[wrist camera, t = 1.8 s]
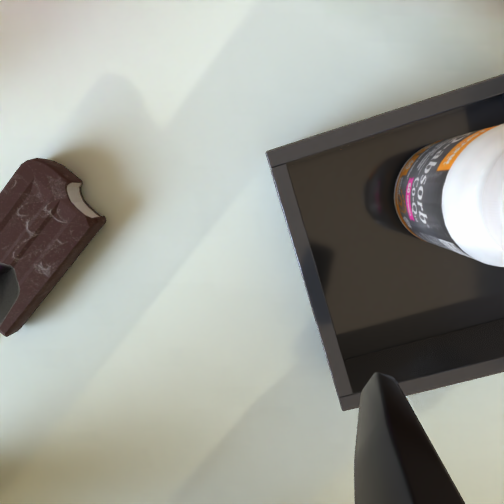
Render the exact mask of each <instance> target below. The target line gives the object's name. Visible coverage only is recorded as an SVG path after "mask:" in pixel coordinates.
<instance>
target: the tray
mask: <svg viewBox="0 0 504 504" xmlns="http://www.w3.org/2000/svg"><path fill="white" fill-rule="evenodd" d="M502 123H504V74H502V75H499V76H496V77H493V78H490V79H487V80H484V81H481V82H478V83H474V84H471V85H468V86H465V87H462V88H459V89H456V90H453V91H450V92H447V93H444V94H441V95H438V96H435V97H431V98H428V99H425V100H422V101H419V102H416V103H413V104H410V105H407V106H404V107H401V108H398V109H395V110H392V111H388V112H385V113H382V114H379V115H376V116H373V117H370V118H367V119H364V120H361V121H358V122H355V123H352V124H349V125H345V126H342V127H339V128H336V129H333V130H330V131H327V132H324V133H321V134H318V135H315V136H312V137H309V138H305V139H302V140H299V141H296V142H293V143H290V144H287V145H284V146H281V147H278V148H275V149H272V150H269V151H266V156H267V160H268V163H269V166H270V170H271V173H272V176H273V180H274V183H275V187H276V190H277V193H278V197H279V200H280V203H281V207H282V210H283V213H284V217H285V220H286V223H287V227H288V230H289V234H290V237H291V240H292V244H293V247H294V250H295V254H296V257H297V260H298V264H299V267H300V270H301V274H302V277H303V281H304V284H305V287H306V291H307V294H308V297H309V301H310V304H311V307H312V311H313V314H314V318H315V321H316V324H317V328H318V331H319V334H320V338H321V341H322V344H323V348H324V351H325V354H326V358H327V361H328V365H329V368H330V371H331V375H332V378H333V381H334V385H335V388H336V391H337V395H338V398H339V402H340V405H341V408H342V411H346V410H350V409H354V408H358V407H359V405H360V396H361V393H362V390H363V388H364V387H365V385H366V384H367V383H368V381H369V380H370V378H371V377H372V376H373V374H374V373H376V372H382V373H385V374H388V375H391V376H393V377H394V378H395V379H396V381H397V382H398V384H399V386H400V388H401V390H402V391H403V393H404V395H405V396H407V395H412V394H416V393H420V392H424V391H428V390H432V389H436V388H440V387H444V386H448V385H452V384H456V383H461V382H465V381H469V380H473V379H477V378H481V377H485V376H489V375H493V374H497V373H501V372H504V267H498V266H493V265H488V264H485V263H482V262H480V261H478V260H475V259H472V258H470V257H467V256H465V255H461V254H459V253H456V252H453V251H451V250H448V249H446V248H443V247H439V246H437V245H434V244H431V243H429V242H426V241H424V240H422V239H420V238H418V237H416V236H415V235H413V234H412V233H411V232H409V231H408V230H407V229H406V228H405V226H404V225H403V224H402V222H401V221H400V219H399V217H398V215H397V212H396V209H395V205H394V188H395V183H396V180H397V177H398V175H399V172H400V170H401V169H402V167H403V166H404V164H405V163H406V162H407V160H408V159H409V158H410V157H411V156H412V155H413V154H415V153H416V152H417V151H419V150H420V149H422V148H424V147H425V146H427V145H430V144H432V143H434V142H437V141H440V140H443V139H448V138H451V137H455V136H459V135H462V134H465V133H469V132H473V131H477V130H481V129H485V128H489V127H493V126H496V125H499V124H502Z"/></svg>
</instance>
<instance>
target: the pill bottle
mask: <svg viewBox="0 0 504 504" xmlns="http://www.w3.org/2000/svg"><path fill="white" fill-rule="evenodd" d="M394 205H395V209H396V212H397V215H398V217H399V219H400V221H401V222H402V224H403V225H404V226H405V228H406V229H407V230H408V231H409V232H411V233H412V234H413V235H415V236H416V237H418V238H420V239H422V240H424V241H426V242H429V243H431V244H434V245H437V246H439V247H443V248H446V249H448V250H451V251H453V252H456V253H459V254H461V255H465V256H467V257H470V258H472V259H475V260H478V261H480V262H482V263H485V264H488V265H493V266H498V267H504V123H502V124H499V125H496V126H493V127H489V128H485V129H481V130H477V131H473V132H469V133H465V134H462V135H459V136H455V137H451V138H448V139H443V140H440V141H437V142H434V143H432V144H430V145H427V146H425V147H424V148H422V149H420V150H419V151H417V152H416V153H415V154H413V155H412V156H411V157H410V158H409V159H408V160H407V162H406V163H405V164H404V166H403V167H402V169H401V170H400V172H399V175H398V177H397V180H396V183H395V188H394Z"/></svg>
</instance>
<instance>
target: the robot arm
mask: <svg viewBox="0 0 504 504" xmlns="http://www.w3.org/2000/svg"><path fill="white" fill-rule="evenodd" d="M19 293H20V288H19V284H18V280H17V276H16V272H15V269H14V268H13V267H12V266H11V265H8V264H4V263H1V262H0V326H1V324H2V322H3V321H4V319H5V318H6V316H7V314H8V313H9V311H10V310H11V308H12V306H13V305H14V303H15V302H16V300H17V298H18V296H19ZM354 490H355V504H465V502H464V500H463V499H462V497H461V495H460V493H459V491H458V490H457V488H456V486H455V484H454V482H453V481H452V479H451V477H450V475H449V474H448V472H447V470H446V468H445V466H444V465H443V463H442V461H441V459H440V457H439V456H438V454H437V452H436V450H435V449H434V447H433V445H432V443H431V441H430V440H429V438H428V436H427V434H426V432H425V431H424V429H423V427H422V425H421V423H420V422H419V420H418V418H417V416H416V415H415V413H414V411H413V409H412V407H411V406H410V404H409V402H408V400H407V398H406V397H405V395H404V393H403V391H402V390H401V388H400V386H399V384H398V382H397V381H396V379H395V378H394V377H393V376H391V375H388V374H385V373H382V372H376V373H374V374H373V376H372V377H371V378H370V380H369V381H368V383H367V384H366V385H365V387H364V388H363V390H362V393H361V396H360V405H359V415H358V426H357V436H356V446H355V459H354Z"/></svg>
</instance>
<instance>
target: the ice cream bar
mask: <svg viewBox="0 0 504 504" xmlns="http://www.w3.org/2000/svg"><path fill="white" fill-rule="evenodd" d="M81 185H82V181H81V180H80V179H79V178H78V177H76V176H75V175H74V174H73V173H72V172H71V171H69V170H68V169H67V168H66V167H64V166H63V165H61V164H59V163H57V162H55V161H52V160H47V159H40V158H35V159H31V160H27V161H26V162H24V163H23V164H21V166H20V167H19V168H18V170H17V171H16V172H15V174H14V175H13V176H12V178H11V179H10V181H9V182H8V183H7V185H6V186H5V187H4V189H3V190H2V192H1V193H0V262H1V263H4V264H8V265H11V266H12V267H13V268H14V269H15V272H16V276H17V280H18V284H19V288H20V293H19V296H18V298H17V300H16V302H15V303H14V305H13V306H12V308H11V310H10V311H9V313H8V314H7V316H6V318H5V319H4V321H3V322H2V324H1V326H0V333H2V334H3V335H4V336H6V337H8V336H9V335H11V334H13V333H15V332H17V331H18V330H19V329H20V328H21V327H22V326H23V325H24V323H25V322H26V321H27V320H28V318H29V317H30V316H31V315H32V313H33V312H34V311H35V310H36V308H37V307H38V306H39V305H40V303H41V302H42V301H43V300H44V298H45V297H46V296H47V295H48V293H49V292H50V291H51V290H52V288H53V287H54V286H55V285H56V283H57V282H58V281H59V280H60V278H61V277H62V276H63V275H64V273H65V272H66V271H67V270H68V268H69V267H70V266H71V265H72V263H73V262H74V261H75V260H76V258H77V257H78V256H79V255H80V253H81V252H82V251H83V250H84V248H85V247H86V246H87V245H88V243H89V242H90V241H91V240H92V239H93V237H94V236H95V235H96V234H97V232H98V231H99V230H100V229H101V227H102V226H103V225H104V224H105V222H106V219H105V217H104V216H101V215H99V214H98V213H97V212H95V211H94V210H93V209H92V208H91V207H90V206H89V205H88V204H87V203H86V202H85V201H84V199H83V197H82V194H81V190H80V188H81Z"/></svg>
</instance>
